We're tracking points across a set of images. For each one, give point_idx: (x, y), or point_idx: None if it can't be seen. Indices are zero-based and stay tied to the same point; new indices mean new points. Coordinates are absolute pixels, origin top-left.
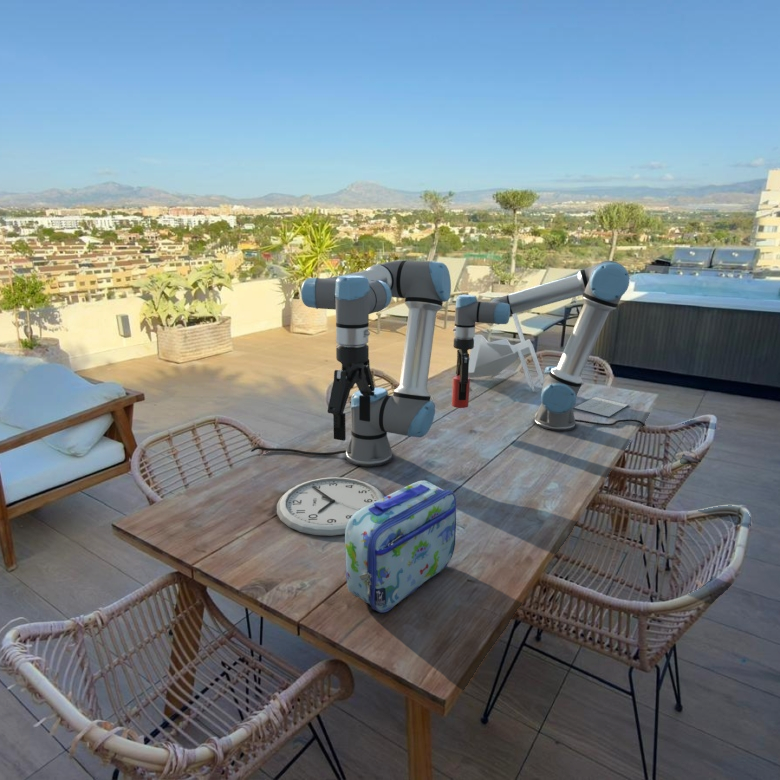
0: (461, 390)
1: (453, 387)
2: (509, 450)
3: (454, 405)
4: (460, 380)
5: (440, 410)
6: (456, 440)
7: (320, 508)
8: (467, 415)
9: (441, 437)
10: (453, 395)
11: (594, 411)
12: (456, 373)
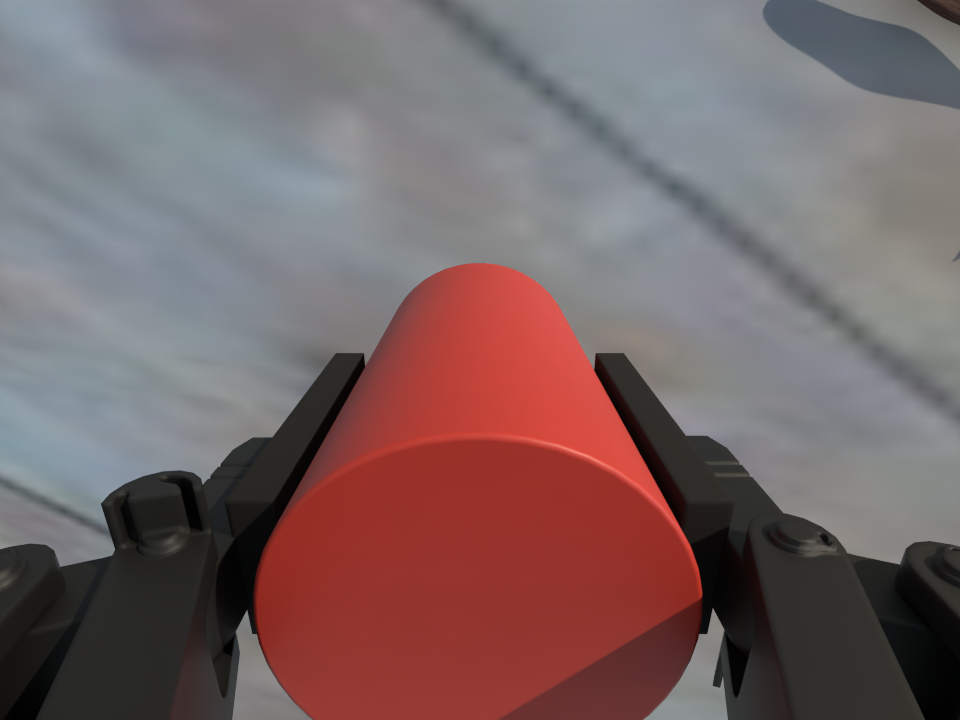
0: (228, 457)
1: (435, 340)
2: (56, 533)
3: (418, 287)
4: (104, 579)
5: (837, 177)
6: (129, 230)
7: None
8: (675, 391)
9: (162, 107)
10: (431, 303)
11: None
12: (917, 564)
